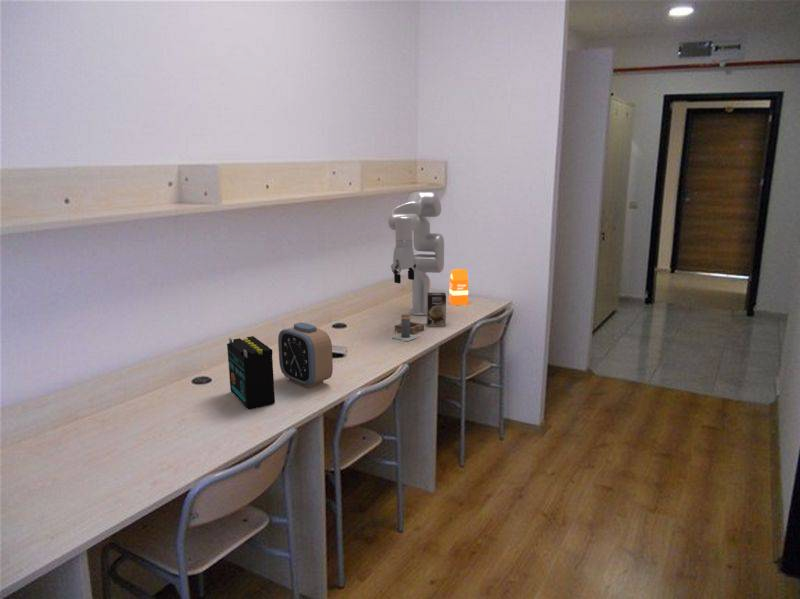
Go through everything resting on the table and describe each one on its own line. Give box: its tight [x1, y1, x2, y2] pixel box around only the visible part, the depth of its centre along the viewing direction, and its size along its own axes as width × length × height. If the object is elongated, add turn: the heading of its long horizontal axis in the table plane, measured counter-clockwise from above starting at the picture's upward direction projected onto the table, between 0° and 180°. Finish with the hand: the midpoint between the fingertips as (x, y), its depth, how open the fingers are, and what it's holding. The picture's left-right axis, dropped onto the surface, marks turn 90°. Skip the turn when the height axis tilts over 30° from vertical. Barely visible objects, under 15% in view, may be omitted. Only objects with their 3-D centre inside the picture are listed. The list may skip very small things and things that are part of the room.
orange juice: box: [448, 268, 469, 307], centre depth 344 cm, size 8×9×20 cm
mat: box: [391, 333, 420, 342], centre depth 282 cm, size 9×9×1 cm
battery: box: [226, 335, 276, 410], centre depth 211 cm, size 19×10×20 cm, turn 32°
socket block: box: [394, 321, 425, 335], centre depth 293 cm, size 10×10×3 cm
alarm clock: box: [277, 322, 334, 389], centre depth 225 cm, size 21×10×22 cm, turn 45°
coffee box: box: [426, 292, 447, 328], centre depth 301 cm, size 9×6×16 cm
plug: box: [400, 313, 411, 338], centre depth 281 cm, size 4×4×10 cm
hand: (404, 281), depth 277 cm, fingers open, 9 cm apart
